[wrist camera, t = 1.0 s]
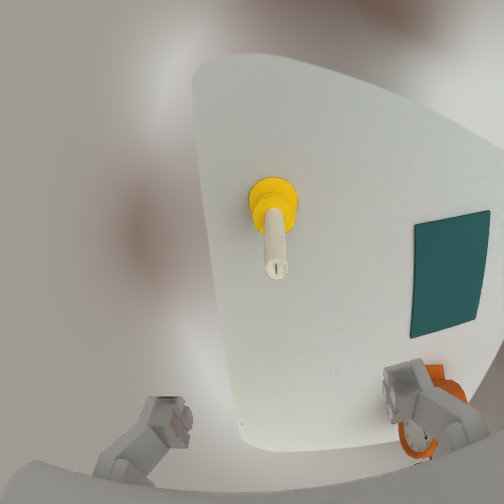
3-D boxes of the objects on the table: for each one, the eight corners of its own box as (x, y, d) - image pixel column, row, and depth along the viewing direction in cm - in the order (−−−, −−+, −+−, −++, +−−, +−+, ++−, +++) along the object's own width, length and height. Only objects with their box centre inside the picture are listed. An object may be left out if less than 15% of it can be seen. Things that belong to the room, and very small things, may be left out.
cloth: (414, 224, 34) (415, 226, 33) (488, 210, 32) (490, 211, 32) (409, 337, 41) (410, 338, 41) (474, 317, 40) (475, 319, 39)
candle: (248, 176, 33) (233, 234, 19) (298, 177, 32) (322, 236, 18) (248, 222, 35) (235, 307, 21) (296, 223, 35) (313, 308, 21)
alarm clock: (419, 358, 43) (460, 461, 25) (447, 358, 43) (491, 451, 26) (389, 407, 49) (412, 499, 31) (415, 406, 49) (442, 491, 31)
